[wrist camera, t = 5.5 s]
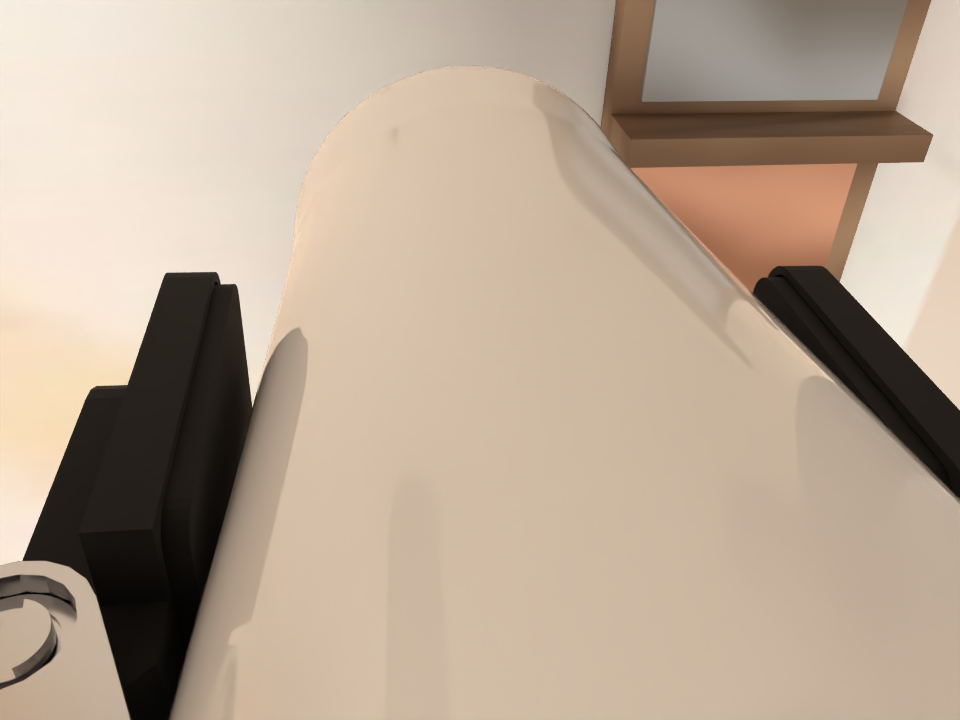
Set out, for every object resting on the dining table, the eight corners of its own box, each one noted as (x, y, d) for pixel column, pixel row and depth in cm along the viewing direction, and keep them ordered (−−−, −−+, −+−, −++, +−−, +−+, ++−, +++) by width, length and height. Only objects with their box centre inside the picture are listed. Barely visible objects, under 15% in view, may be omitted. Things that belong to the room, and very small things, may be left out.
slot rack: (649, -269, 25) (690, -273, 22) (992, -252, 26) (1071, -253, 23) (571, 369, 38) (590, 418, 35) (801, 357, 39) (836, 403, 36)
